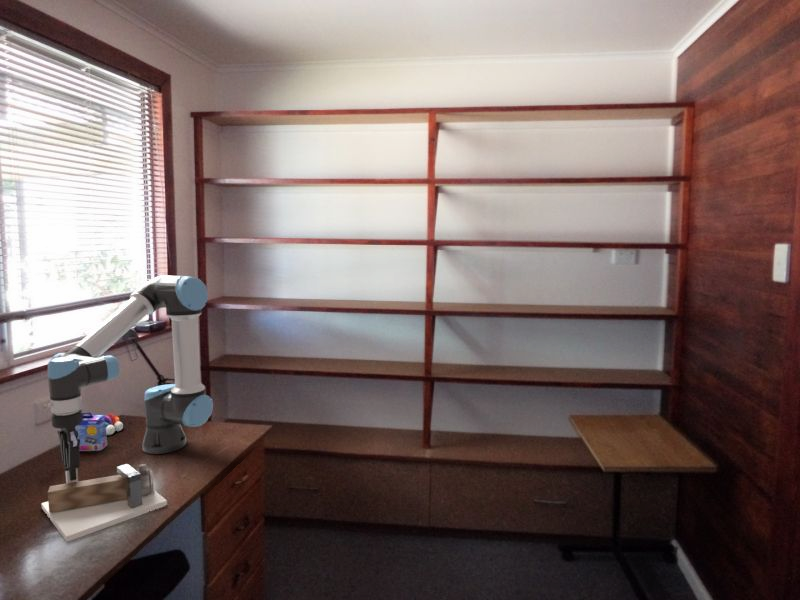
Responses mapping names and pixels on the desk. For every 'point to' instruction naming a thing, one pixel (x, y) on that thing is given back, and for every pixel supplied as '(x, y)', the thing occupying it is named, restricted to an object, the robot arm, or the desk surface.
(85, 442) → the ink cartridge box
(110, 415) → the multicoloured rounded cluster
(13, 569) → the desk surface
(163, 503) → the board
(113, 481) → the link
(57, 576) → the desk surface
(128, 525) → the desk surface
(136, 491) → the bracket
